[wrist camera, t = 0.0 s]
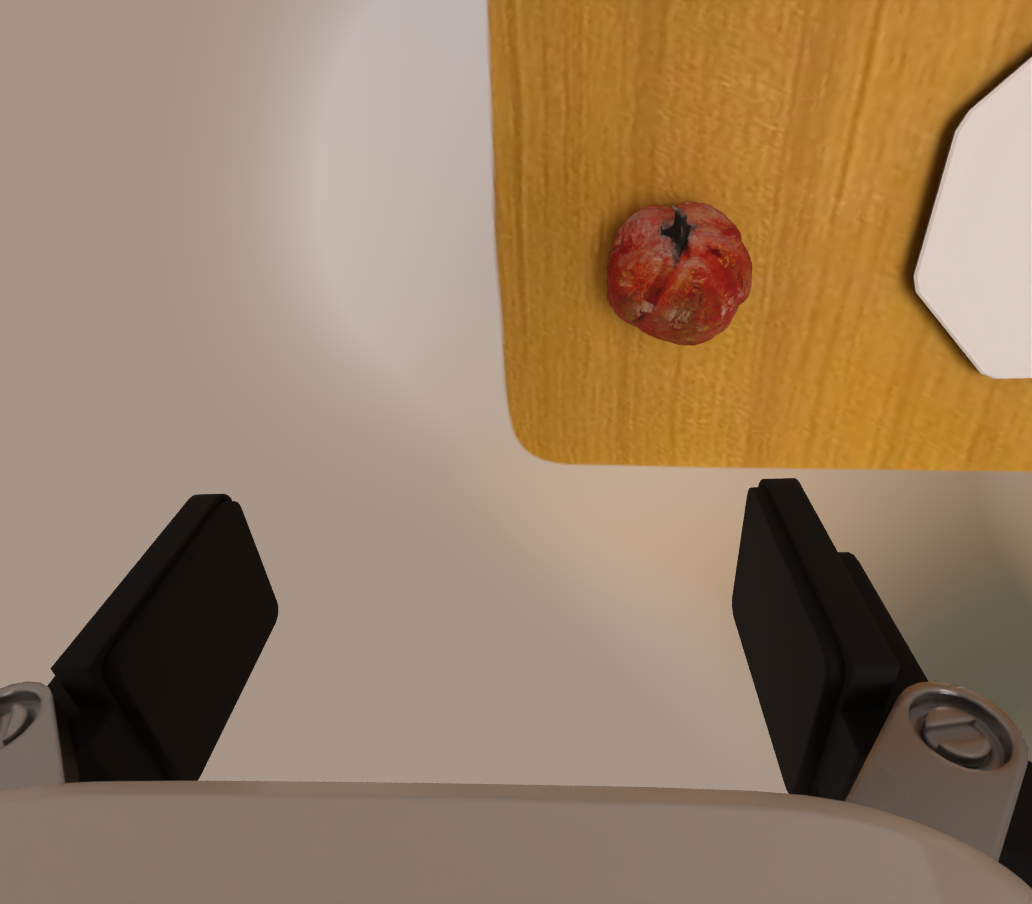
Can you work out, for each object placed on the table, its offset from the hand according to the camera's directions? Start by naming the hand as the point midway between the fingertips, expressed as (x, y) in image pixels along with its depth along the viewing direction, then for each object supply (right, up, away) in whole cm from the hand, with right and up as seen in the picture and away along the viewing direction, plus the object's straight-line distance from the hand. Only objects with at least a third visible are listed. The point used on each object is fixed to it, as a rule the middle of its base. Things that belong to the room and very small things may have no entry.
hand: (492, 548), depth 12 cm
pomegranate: (+9, +13, +25) cm, 29 cm away
